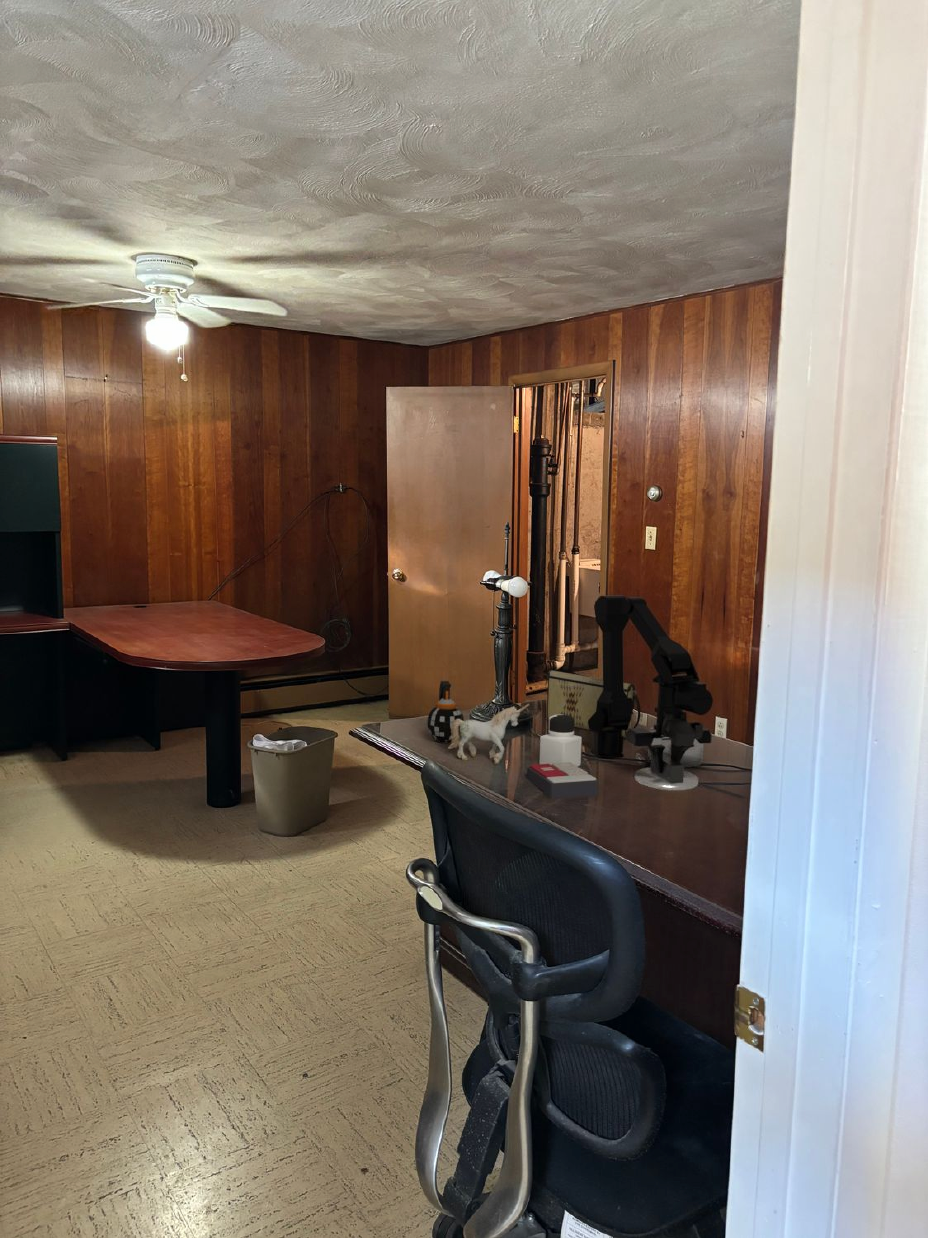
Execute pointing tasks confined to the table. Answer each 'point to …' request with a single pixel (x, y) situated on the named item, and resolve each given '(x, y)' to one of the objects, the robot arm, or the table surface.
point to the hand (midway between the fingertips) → (666, 772)
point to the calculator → (563, 780)
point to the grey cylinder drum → (690, 756)
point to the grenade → (443, 715)
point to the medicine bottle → (560, 742)
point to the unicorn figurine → (483, 732)
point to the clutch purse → (580, 697)
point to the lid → (667, 776)
